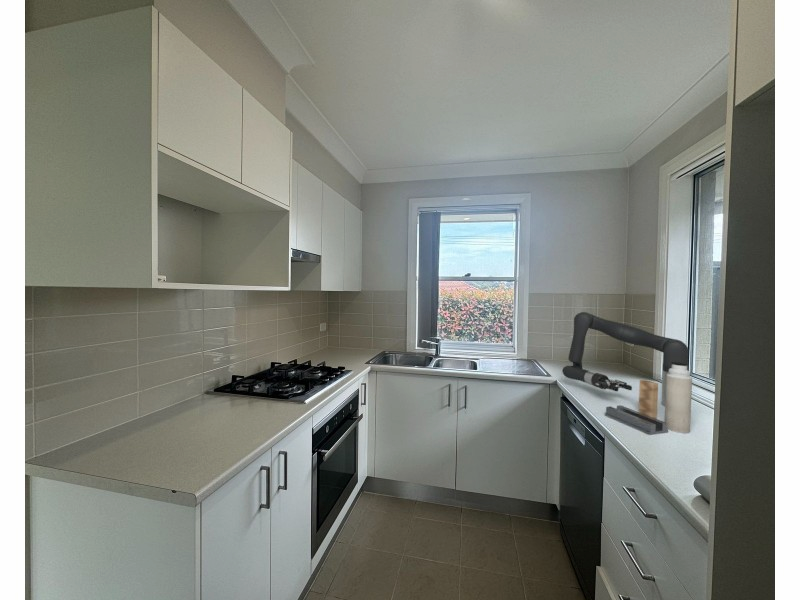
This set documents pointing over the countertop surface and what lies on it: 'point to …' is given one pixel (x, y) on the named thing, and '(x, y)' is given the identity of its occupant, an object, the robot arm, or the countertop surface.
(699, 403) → the countertop surface
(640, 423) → the rail
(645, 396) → the door slat
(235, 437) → the countertop surface
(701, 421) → the countertop surface
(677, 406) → the thermos bottle
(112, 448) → the countertop surface
